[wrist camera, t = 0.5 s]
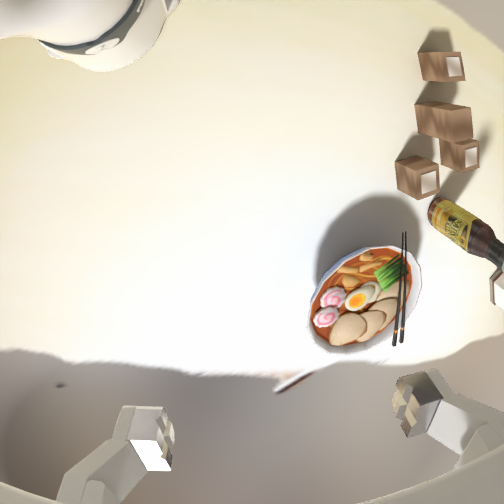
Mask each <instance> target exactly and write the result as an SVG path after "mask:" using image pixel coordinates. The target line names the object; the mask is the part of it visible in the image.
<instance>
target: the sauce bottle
mask: <svg viewBox="0 0 504 504" xmlns="http://www.w3.org/2000/svg"><path fill="white" fill-rule="evenodd" d="M428 219H429V222H430V223H431V225H432V226H433V227H434V228H435V229H437V230H438V231H439V232H441V233H442V234H444V235H445V236H446V237H448V238H449V239H451V240H452V241H453V242H454V243H456V244H457V245H458V246H460V247H461V248H462V249H464V250H465V251H466V252H468V253H470V254H473V255H476V256H479V257H482V258H486V259H488V260H489V261H491V262H492V263H494V264H495V265H496V266H497V268H498V269H499V270H501V271H502V272H504V244H503V243H502V242H500V240H498V239H496V236H495V234H494V232H493V230H492V228H491V227H490V226H489V225H487V224H486V223H484V222H483V221H482V220H481V219H479V218H477V217H476V216H474V215H473V214H471V213H469V212H468V211H466V210H465V209H463V208H461V207H460V206H458V205H456V204H455V203H453V202H451V201H449V200H447V199H445V198H438V199H436V200H434V201H433V203H432V204H431V206H430V208H429V211H428Z"/></svg>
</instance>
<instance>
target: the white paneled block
mask: <svg viewBox="0 0 504 504" xmlns="http://www.w3.org/2000/svg"><path fill="white" fill-rule="evenodd" d="M395 170H396V179H397V189H398V190H400V191H402V192H404V193H406V194H407V195H409V196H411V197H413V198H415V199H416V200H420V199H423V198H426V197H429V196H431V195H434V194H437V193H439V192H440V184H439V165H438V164H437V163H435V162H432V161H430V160H427V159H424V158H422V157H419V156H413V157H410V158H406V159H403V160H399V161H396V162H395Z"/></svg>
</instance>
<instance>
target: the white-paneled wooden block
mask: <svg viewBox="0 0 504 504" xmlns="http://www.w3.org/2000/svg"><path fill="white" fill-rule="evenodd" d="M439 144H440V157H441V165H444V166H446V167H449V168H451V169H454V170H456V171H458V172H461V173H465V172H468V171H471V170H474V169H477V168H479V141H477V140H473V139H467V140H463V141H459V142H455V143H452V142H449V141H446V140H442V139H439Z"/></svg>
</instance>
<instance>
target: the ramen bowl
mask: <svg viewBox="0 0 504 504" xmlns="http://www.w3.org/2000/svg"><path fill="white" fill-rule="evenodd" d="M421 287H422V280H421V268H420V266H419V264H418V262H417V261H416V259H415V258H414V256H413V255H412V253H411V252H409V251H407V246H406V232H405V250H404V249H403V232H402V249H401V248H399V247H396V246H394V245H383V246H373V247H364V248H361V249H359V250H357V251H355V252H353V253H351V254H349V255H347V256H345V257H343V258H341V259H340V260H339V261H338V262H337V263H336V264H335V265H334V266H332V267H331V268H330V269H329V270H328V271H327V272H326V273H325V274H324V275H323V277H322V279H321V281H320V282H319V284H318V286H317V288H316V290H315V292H314V294H313V296H312V298H311V302H310V309H309V317H308V324H307V328H308V331H309V333H310V335H311V338H312V340H313V342H314V344H315V345H317V346H318V347H320V348H321V349H323V350H324V351H325V352H327V353H330V354H340V355H350V354H354V353H359V352H363V351H367V350H369V349H371V348H373V347H374V346H376V345H378V344H380V343H381V342H383V341H385V340H387V339H388V338H389V337H390V336H391V335H392V334H393V333H394V334H393V341H392V345H393V347H394V346H396V341H397V333H398V332H397V331H398V329H399V328H400V327H401V330H400V340H399V342H400V343H403V339H404V326H405V321H406V320H407V318H408V317H409V315H410V314H411V312H412V310H413V309H414V307H415V306H416V303H417V300H418V297H419V294H420V290H421Z"/></svg>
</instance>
